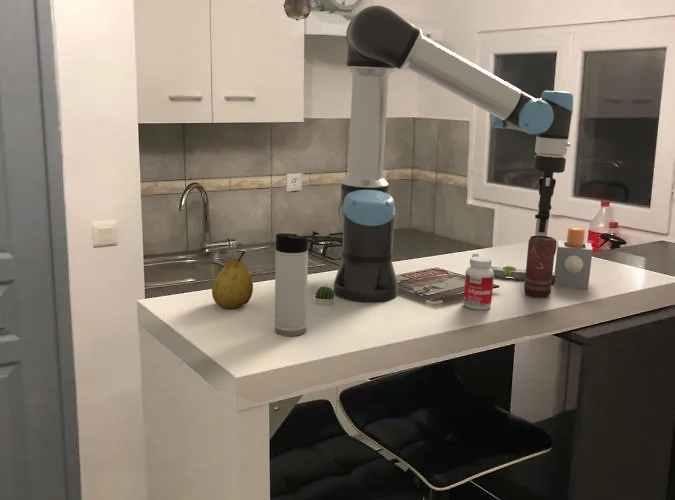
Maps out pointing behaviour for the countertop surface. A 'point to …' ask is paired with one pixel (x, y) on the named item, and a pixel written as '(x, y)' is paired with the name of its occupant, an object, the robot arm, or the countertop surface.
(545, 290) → the can
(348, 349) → the countertop surface
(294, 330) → the travel mug
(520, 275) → the rail
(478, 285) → the pill bottle
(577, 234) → the plunger
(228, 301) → the fruit
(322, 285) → the countertop surface
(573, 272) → the grey box
